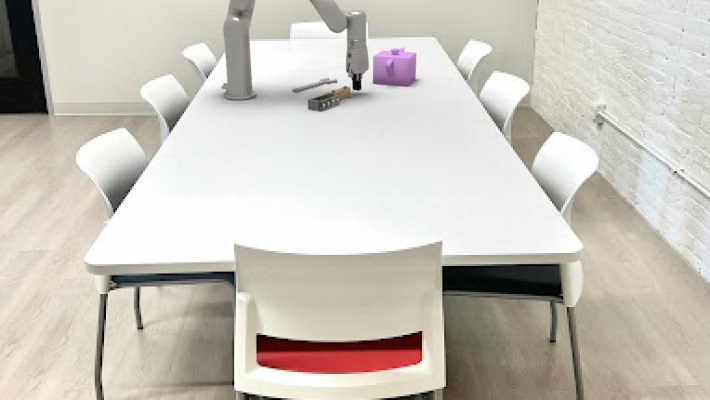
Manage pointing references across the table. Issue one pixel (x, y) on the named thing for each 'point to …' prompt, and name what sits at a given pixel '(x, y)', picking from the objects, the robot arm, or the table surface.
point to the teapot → (394, 68)
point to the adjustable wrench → (314, 84)
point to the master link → (341, 93)
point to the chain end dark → (318, 103)
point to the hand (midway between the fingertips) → (356, 89)
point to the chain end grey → (331, 99)
